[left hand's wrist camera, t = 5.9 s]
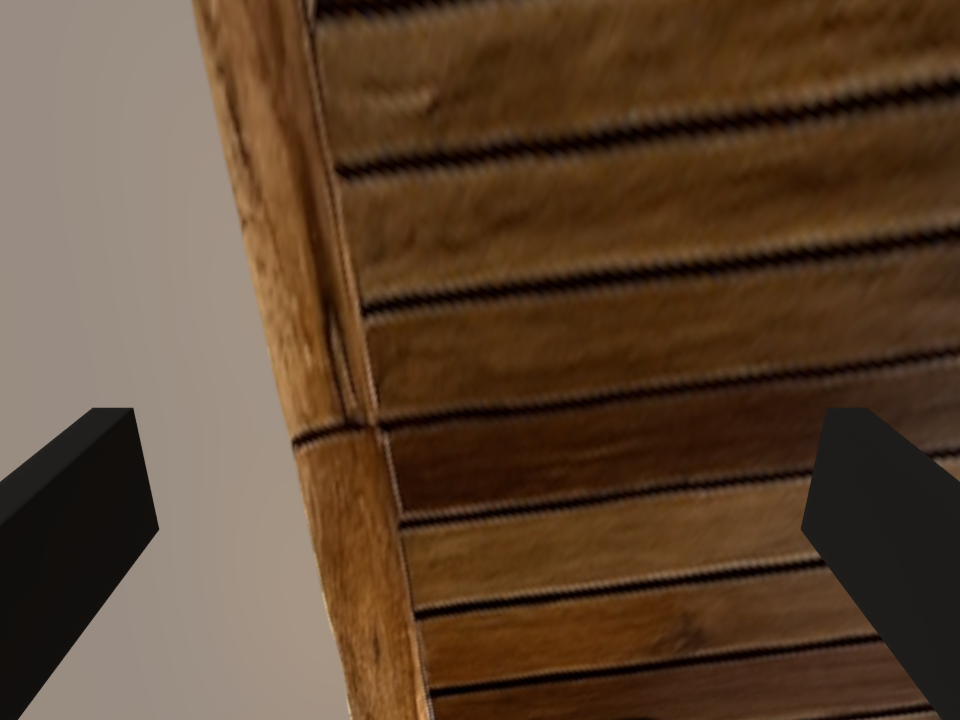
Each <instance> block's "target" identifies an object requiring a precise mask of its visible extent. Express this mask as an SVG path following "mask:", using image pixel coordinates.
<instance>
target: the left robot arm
mask: <svg viewBox="0 0 960 720" xmlns="http://www.w3.org/2000/svg"><path fill="white" fill-rule="evenodd" d="M158 530H159V526H158V522H157V517H156V512H155V507H154V503H153V498H152V493H151V489H150V484H149V479H148V475H147V470H146V465H145V461H144V456H143V451H142V447H141V442H140V437H139V433H138V428H137V423H136V419H135V414H134V409H133V408H92V409H91V410H89V411H88V412H87V413H86V414H84V415H83V416H82V417H81V418H79V419H78V420H77V421H76V422H74V423H73V424H72V425H71V426H69V427H68V428H67V429H66V430H64V431H63V432H62V433H61V434H59V435H58V436H57V437H56V438H54V439H53V440H52V441H51V442H49V443H48V444H47V445H46V446H44V447H43V448H42V449H41V450H39V451H38V452H37V453H36V454H34V455H33V456H32V457H31V458H29V459H28V460H27V461H26V462H24V463H23V464H22V465H21V466H19V467H18V468H17V469H16V470H14V471H13V472H12V473H11V474H9V475H8V476H7V477H6V478H4V479H3V480H2V481H1V482H0V720H18V719H19V717H20V716H21V715H22V713H23V712H24V711H25V709H26V708H27V707H28V705H29V704H30V703H31V701H32V700H33V699H34V697H35V696H36V695H37V693H38V692H39V691H40V689H41V688H42V687H43V685H44V684H45V682H46V681H47V680H48V679H49V677H50V676H51V674H52V673H53V672H54V670H55V669H56V668H57V666H58V665H59V664H60V662H61V661H62V660H63V658H64V657H65V656H66V654H67V653H68V652H69V650H70V649H71V647H72V646H73V645H74V643H75V642H76V641H77V639H78V638H79V637H80V635H81V634H82V633H83V631H84V630H85V629H86V627H87V626H88V625H89V623H90V622H91V621H92V619H93V618H94V617H95V615H96V614H97V613H98V611H99V610H100V608H101V607H102V606H103V604H104V603H105V602H106V600H107V599H108V598H109V596H110V595H111V594H112V592H113V591H114V590H115V588H116V587H117V586H118V584H119V583H120V582H121V580H122V579H123V578H124V576H125V575H126V574H127V572H128V571H129V570H130V568H131V567H132V565H133V564H134V563H135V561H136V560H137V559H138V557H139V556H140V555H141V553H142V552H143V551H144V549H145V548H146V547H147V545H148V544H149V543H150V541H151V540H152V539H153V537H154V536H155V534H156V533H157V532H158ZM801 530H802V532H803V533H804V535H805V536H806V537H807V539H808V540H809V541H810V543H811V544H812V545H813V547H814V548H815V549H816V551H817V552H818V553H819V555H820V556H821V557H822V559H823V560H824V561H825V563H826V564H827V565H828V567H829V568H830V570H831V571H832V572H833V574H834V575H835V576H836V578H837V579H838V580H839V582H840V583H841V584H842V586H843V587H844V588H845V590H846V591H847V592H848V594H849V595H850V596H851V598H852V599H853V600H854V602H855V603H856V604H857V606H858V607H859V609H860V610H861V611H862V613H863V614H864V615H865V617H866V618H867V619H868V621H869V622H870V623H871V625H872V626H873V627H874V629H875V630H876V631H877V633H878V634H879V635H880V637H881V638H882V639H883V641H884V642H885V644H886V645H887V646H888V648H889V649H890V650H891V652H892V653H893V654H894V656H895V657H896V658H897V660H898V661H899V662H900V664H901V665H902V666H903V668H904V669H905V670H906V672H907V673H908V674H909V676H910V677H911V679H912V680H913V681H914V683H915V684H916V685H917V687H918V688H919V689H920V691H921V692H922V693H923V695H924V696H925V697H926V699H927V700H928V701H929V703H930V704H931V705H932V707H933V708H934V709H935V711H936V712H937V713H938V715H939V716H940V718H941V719H942V720H960V482H959V481H958V480H957V479H956V478H954V477H953V476H952V475H951V474H949V473H948V472H947V471H946V470H944V469H943V468H942V467H941V466H939V465H938V464H937V463H936V462H934V461H933V460H932V459H931V458H929V457H928V456H927V455H926V454H924V453H923V452H922V451H921V450H919V449H918V448H917V447H916V446H914V445H913V444H912V443H911V442H909V441H908V440H907V439H906V438H904V437H903V436H902V435H901V434H899V433H898V432H897V431H896V430H894V429H893V428H892V427H891V426H889V425H888V424H887V423H886V422H884V421H883V420H882V419H881V418H879V417H878V416H877V415H876V414H874V413H873V412H872V411H871V410H869V409H868V408H827V409H826V414H825V418H824V423H823V428H822V432H821V437H820V442H819V446H818V451H817V456H816V461H815V465H814V470H813V475H812V479H811V484H810V489H809V493H808V498H807V503H806V507H805V512H804V517H803V521H802V526H801Z"/></svg>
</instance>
